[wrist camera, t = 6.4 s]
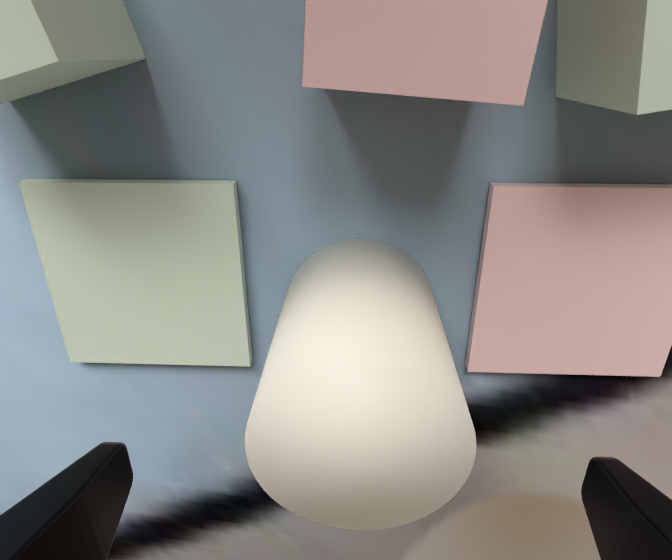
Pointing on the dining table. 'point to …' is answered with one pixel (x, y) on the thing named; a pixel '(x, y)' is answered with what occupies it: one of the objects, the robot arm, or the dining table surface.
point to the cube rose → (423, 47)
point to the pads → (230, 285)
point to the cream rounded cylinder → (360, 395)
